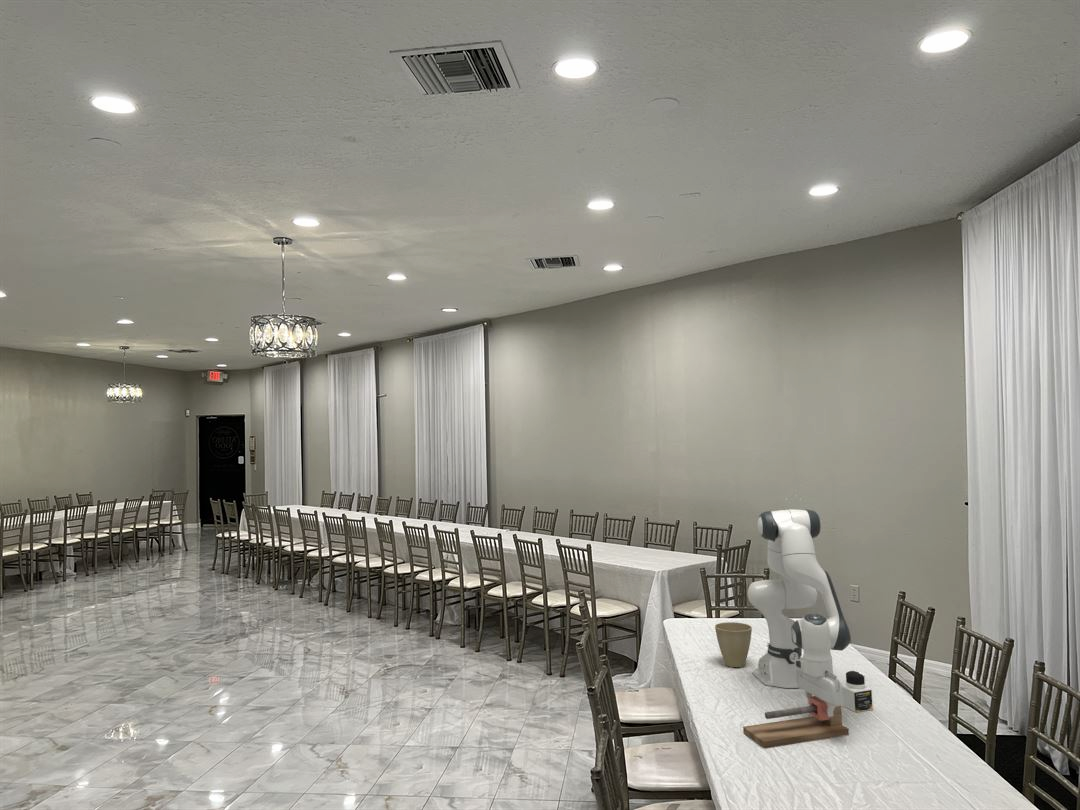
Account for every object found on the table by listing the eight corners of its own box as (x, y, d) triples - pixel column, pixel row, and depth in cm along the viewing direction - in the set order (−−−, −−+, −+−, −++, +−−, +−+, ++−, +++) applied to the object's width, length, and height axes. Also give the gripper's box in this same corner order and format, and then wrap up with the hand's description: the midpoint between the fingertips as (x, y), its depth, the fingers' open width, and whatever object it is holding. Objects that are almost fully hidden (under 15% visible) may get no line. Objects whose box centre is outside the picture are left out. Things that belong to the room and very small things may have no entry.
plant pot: (758, 670, 289) (756, 630, 289) (721, 671, 289) (719, 631, 290) (748, 659, 304) (746, 621, 304) (713, 660, 304) (711, 622, 305)
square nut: (809, 714, 232) (808, 696, 232) (819, 712, 233) (818, 695, 233) (820, 720, 227) (819, 702, 227) (830, 719, 228) (829, 701, 228)
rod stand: (743, 733, 230) (742, 704, 230) (825, 720, 237) (823, 693, 237) (763, 748, 218) (762, 718, 218) (848, 734, 225) (847, 705, 226)
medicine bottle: (855, 712, 242) (853, 677, 243) (841, 705, 249) (839, 670, 250) (873, 709, 244) (871, 674, 245) (858, 702, 251) (856, 668, 252)
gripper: (847, 675, 221) (850, 721, 221) (807, 657, 241) (810, 698, 240) (829, 678, 220) (832, 724, 219) (791, 659, 240) (793, 701, 239)
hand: (820, 710), depth 230 cm, fingers open, 8 cm apart
